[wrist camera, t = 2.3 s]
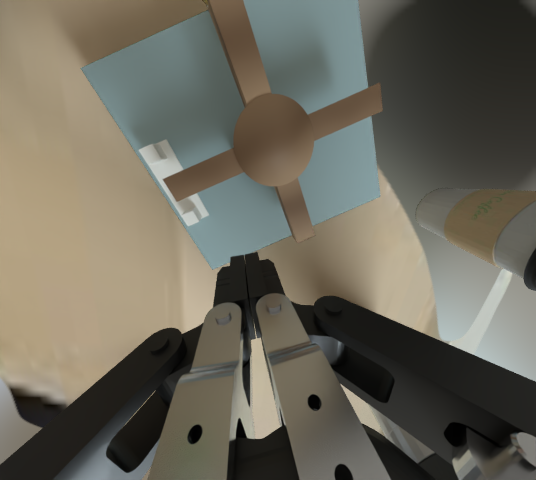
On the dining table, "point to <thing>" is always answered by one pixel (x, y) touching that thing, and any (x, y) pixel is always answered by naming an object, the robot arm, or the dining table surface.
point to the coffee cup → (486, 225)
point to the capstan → (268, 125)
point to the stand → (229, 109)
